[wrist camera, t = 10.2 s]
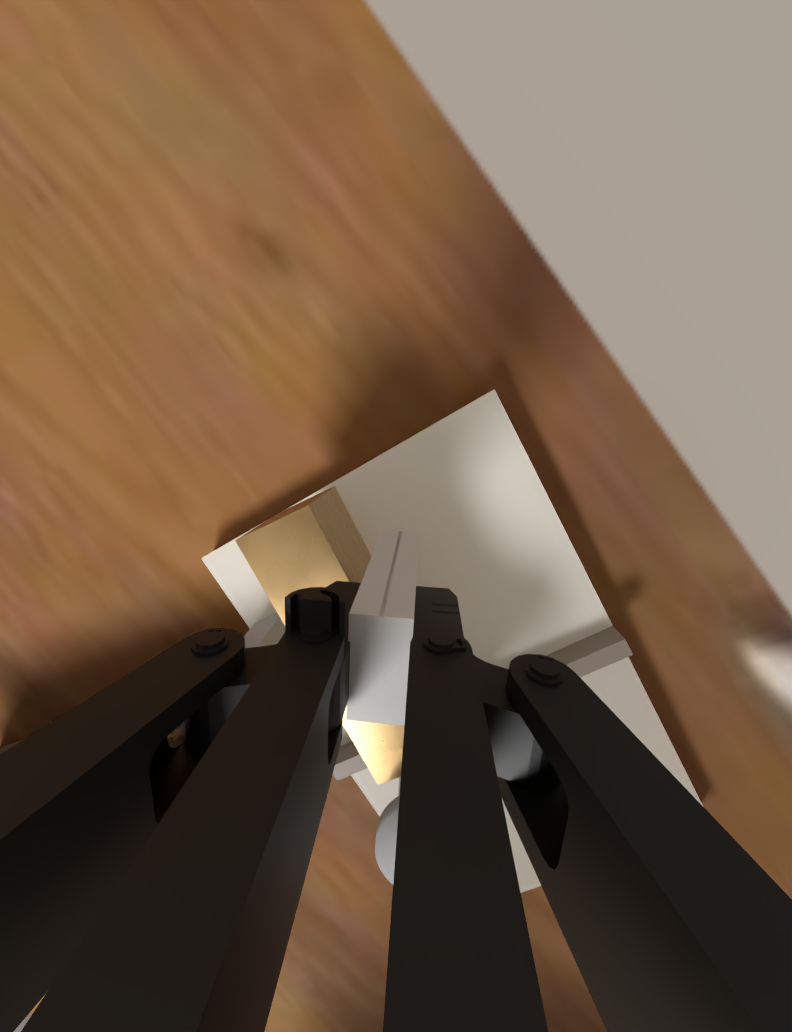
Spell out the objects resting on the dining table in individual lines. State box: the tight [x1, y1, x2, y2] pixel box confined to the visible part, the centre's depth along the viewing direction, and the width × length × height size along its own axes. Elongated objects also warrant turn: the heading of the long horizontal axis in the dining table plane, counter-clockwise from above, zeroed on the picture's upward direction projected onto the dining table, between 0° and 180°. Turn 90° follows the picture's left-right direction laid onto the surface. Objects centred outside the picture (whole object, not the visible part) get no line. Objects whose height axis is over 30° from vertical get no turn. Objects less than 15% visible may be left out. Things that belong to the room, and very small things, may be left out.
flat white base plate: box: [201, 389, 703, 893], centre depth 18 cm, size 16×26×8 cm, turn 30°
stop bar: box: [235, 486, 404, 784], centre depth 16 cm, size 11×3×4 cm, turn 26°
